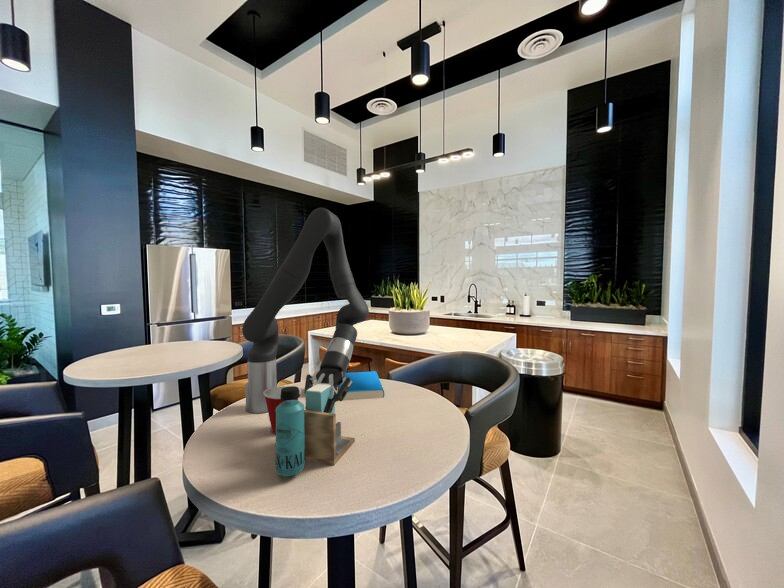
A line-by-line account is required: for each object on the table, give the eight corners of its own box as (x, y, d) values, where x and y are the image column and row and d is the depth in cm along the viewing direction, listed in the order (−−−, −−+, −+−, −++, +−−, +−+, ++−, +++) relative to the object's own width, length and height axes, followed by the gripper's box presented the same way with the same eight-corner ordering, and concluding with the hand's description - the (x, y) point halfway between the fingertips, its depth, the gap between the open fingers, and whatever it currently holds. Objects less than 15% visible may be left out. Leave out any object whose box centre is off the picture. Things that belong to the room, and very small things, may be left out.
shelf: (277, 455, 81) (276, 408, 80) (304, 433, 92) (303, 393, 92) (334, 465, 76) (333, 415, 76) (354, 441, 87) (354, 398, 87)
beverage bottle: (279, 467, 75) (278, 383, 75) (308, 465, 76) (307, 382, 75) (271, 484, 69) (270, 393, 68) (303, 482, 69) (301, 392, 69)
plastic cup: (304, 434, 92) (303, 393, 91) (263, 441, 88) (262, 398, 87) (300, 419, 102) (299, 382, 101) (264, 425, 98) (263, 387, 98)
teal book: (306, 437, 82) (305, 390, 81) (320, 425, 88) (319, 382, 88) (322, 439, 80) (320, 391, 80) (335, 427, 87) (334, 383, 86)
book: (339, 391, 119) (339, 372, 143) (339, 402, 119) (339, 381, 143) (385, 388, 122) (377, 370, 146) (385, 399, 122) (377, 379, 146)
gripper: (311, 348, 93) (286, 404, 82) (356, 350, 89) (336, 410, 77) (320, 362, 98) (299, 416, 87) (363, 365, 94) (346, 422, 83)
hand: (317, 413), depth 82 cm, fingers closed on teal book, 4 cm apart
